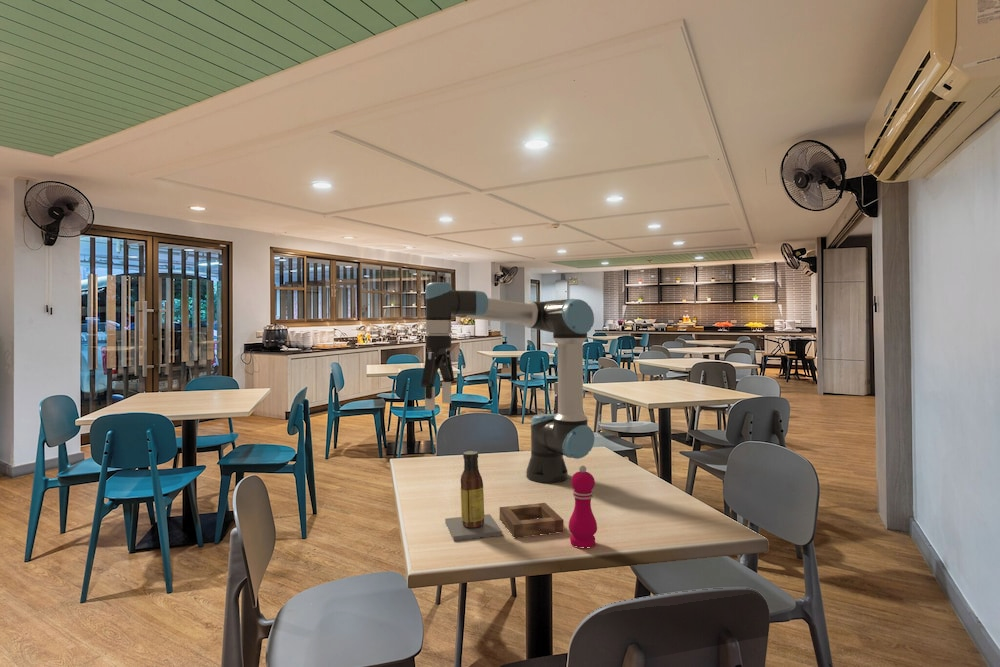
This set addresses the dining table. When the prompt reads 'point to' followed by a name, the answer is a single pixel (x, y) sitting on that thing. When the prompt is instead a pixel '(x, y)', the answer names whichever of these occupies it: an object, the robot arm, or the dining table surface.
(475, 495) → the sauce bottle
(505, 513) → the bottle holder
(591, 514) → the pepper mill
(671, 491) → the dining table surface
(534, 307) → the robot arm
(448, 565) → the dining table surface
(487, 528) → the slate tile
